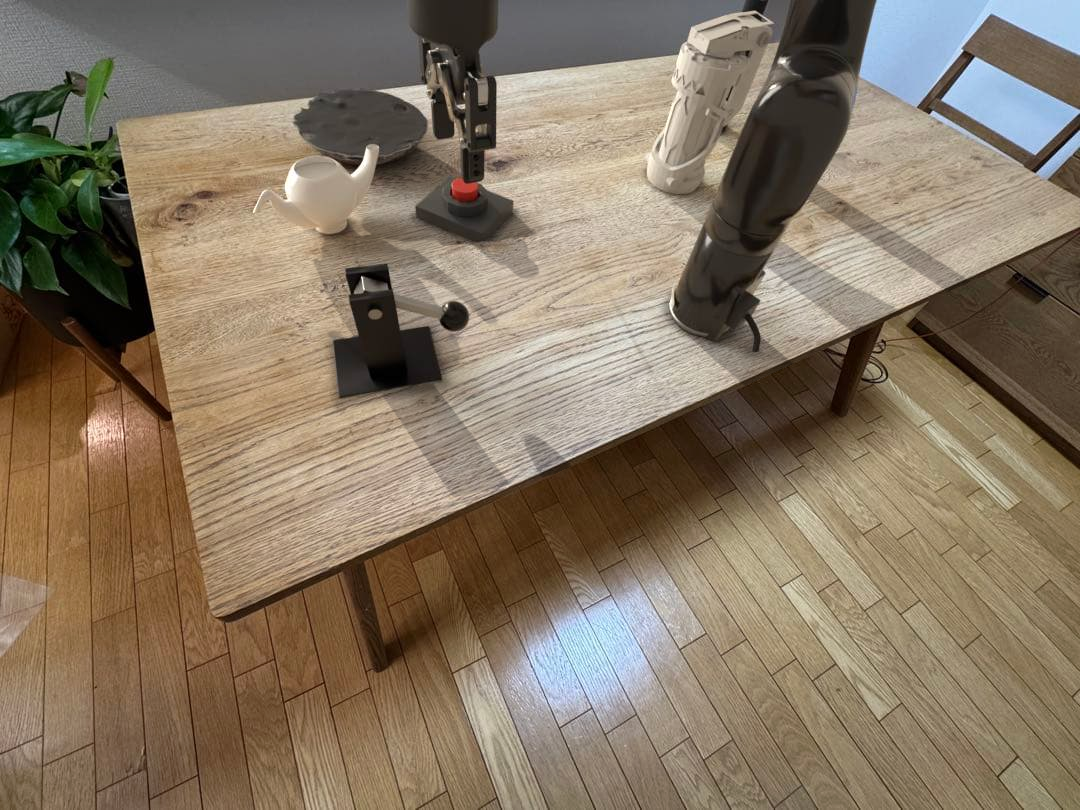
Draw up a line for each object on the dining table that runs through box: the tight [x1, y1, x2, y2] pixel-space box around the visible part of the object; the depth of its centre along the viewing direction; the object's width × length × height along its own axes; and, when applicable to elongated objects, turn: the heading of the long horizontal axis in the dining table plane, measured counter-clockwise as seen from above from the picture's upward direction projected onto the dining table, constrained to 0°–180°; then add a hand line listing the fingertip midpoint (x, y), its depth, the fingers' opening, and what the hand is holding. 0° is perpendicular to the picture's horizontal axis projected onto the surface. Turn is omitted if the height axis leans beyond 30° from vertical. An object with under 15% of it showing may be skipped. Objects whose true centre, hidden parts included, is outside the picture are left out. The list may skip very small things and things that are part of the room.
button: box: [452, 177, 478, 202], centre depth 79 cm, size 4×4×2 cm
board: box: [292, 87, 429, 166], centre depth 89 cm, size 22×22×5 cm
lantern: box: [643, 11, 775, 195], centre depth 85 cm, size 13×10×25 cm
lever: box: [354, 276, 470, 333], centre depth 58 cm, size 13×4×4 cm
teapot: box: [252, 144, 379, 235], centre depth 74 cm, size 10×20×9 cm, turn 134°
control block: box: [414, 175, 515, 243], centre depth 81 cm, size 12×10×4 cm
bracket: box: [332, 263, 443, 399], centre depth 59 cm, size 12×9×14 cm
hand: (457, 157), depth 54 cm, fingers open, 8 cm apart
